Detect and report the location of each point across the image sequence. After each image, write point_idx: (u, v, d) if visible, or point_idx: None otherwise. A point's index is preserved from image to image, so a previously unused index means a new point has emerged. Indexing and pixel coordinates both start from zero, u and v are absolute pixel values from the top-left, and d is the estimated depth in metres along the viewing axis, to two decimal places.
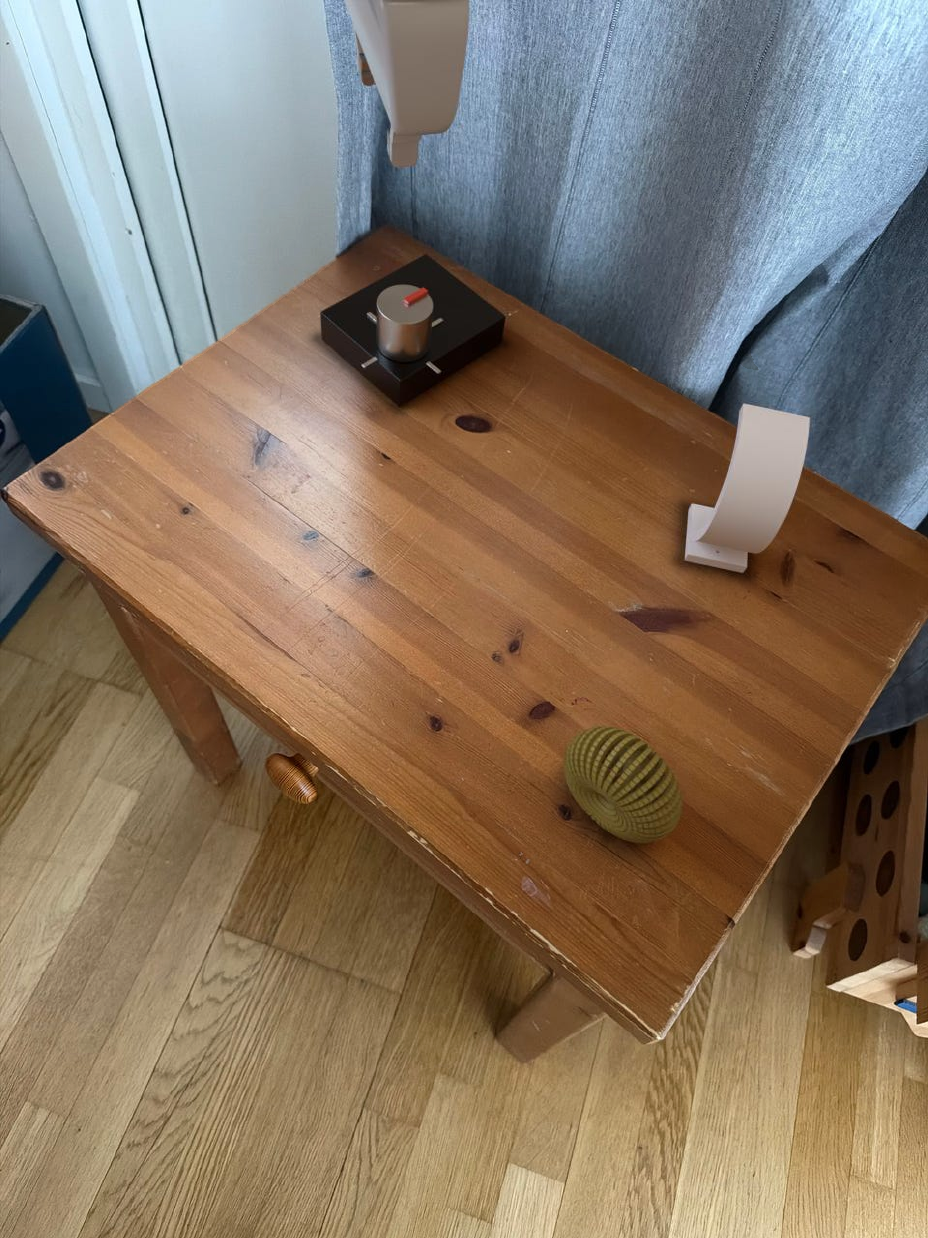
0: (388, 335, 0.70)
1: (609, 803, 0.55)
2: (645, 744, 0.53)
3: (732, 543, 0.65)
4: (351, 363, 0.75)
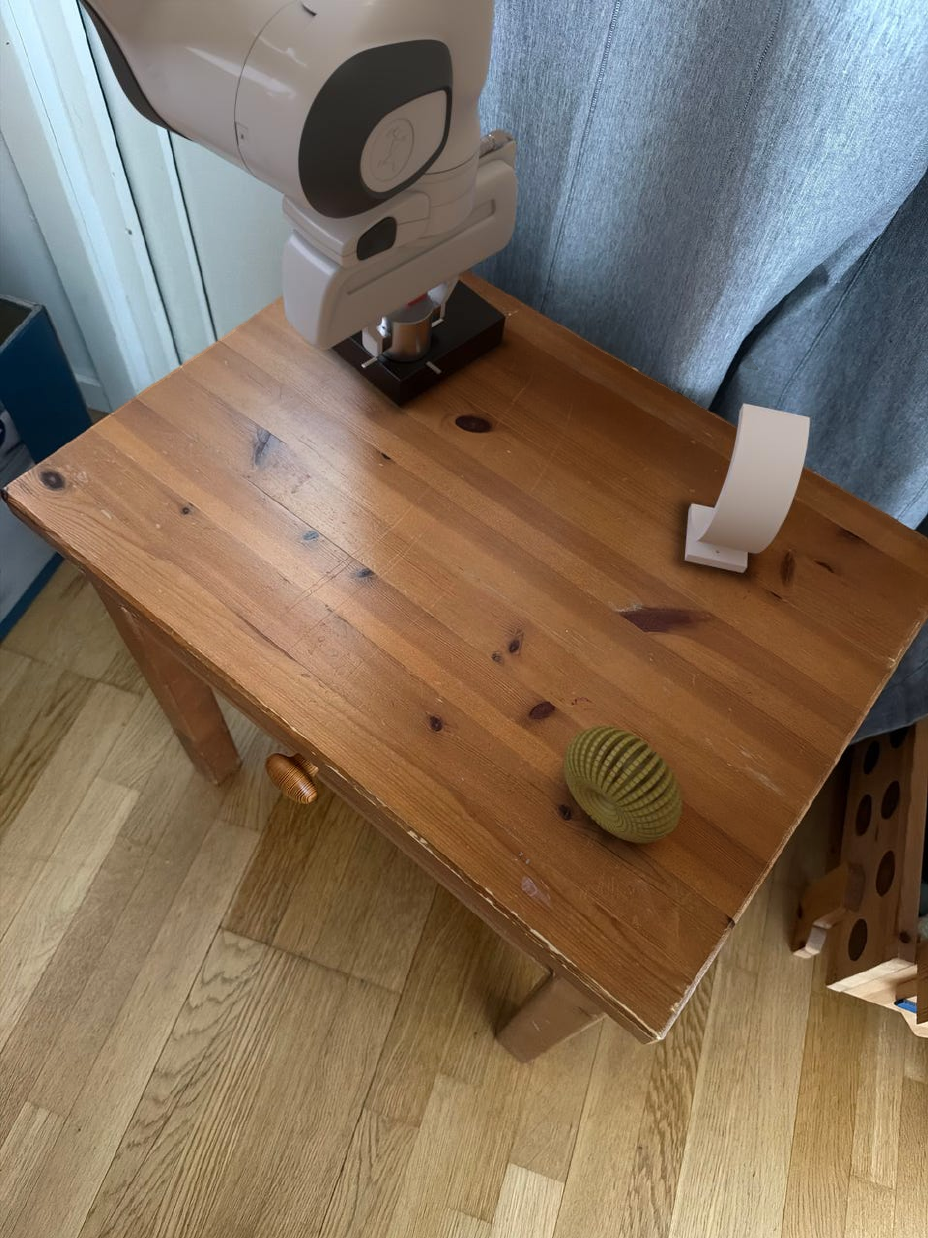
0: None
1: (609, 803, 0.55)
2: (645, 744, 0.53)
3: (732, 543, 0.65)
4: (351, 363, 0.75)
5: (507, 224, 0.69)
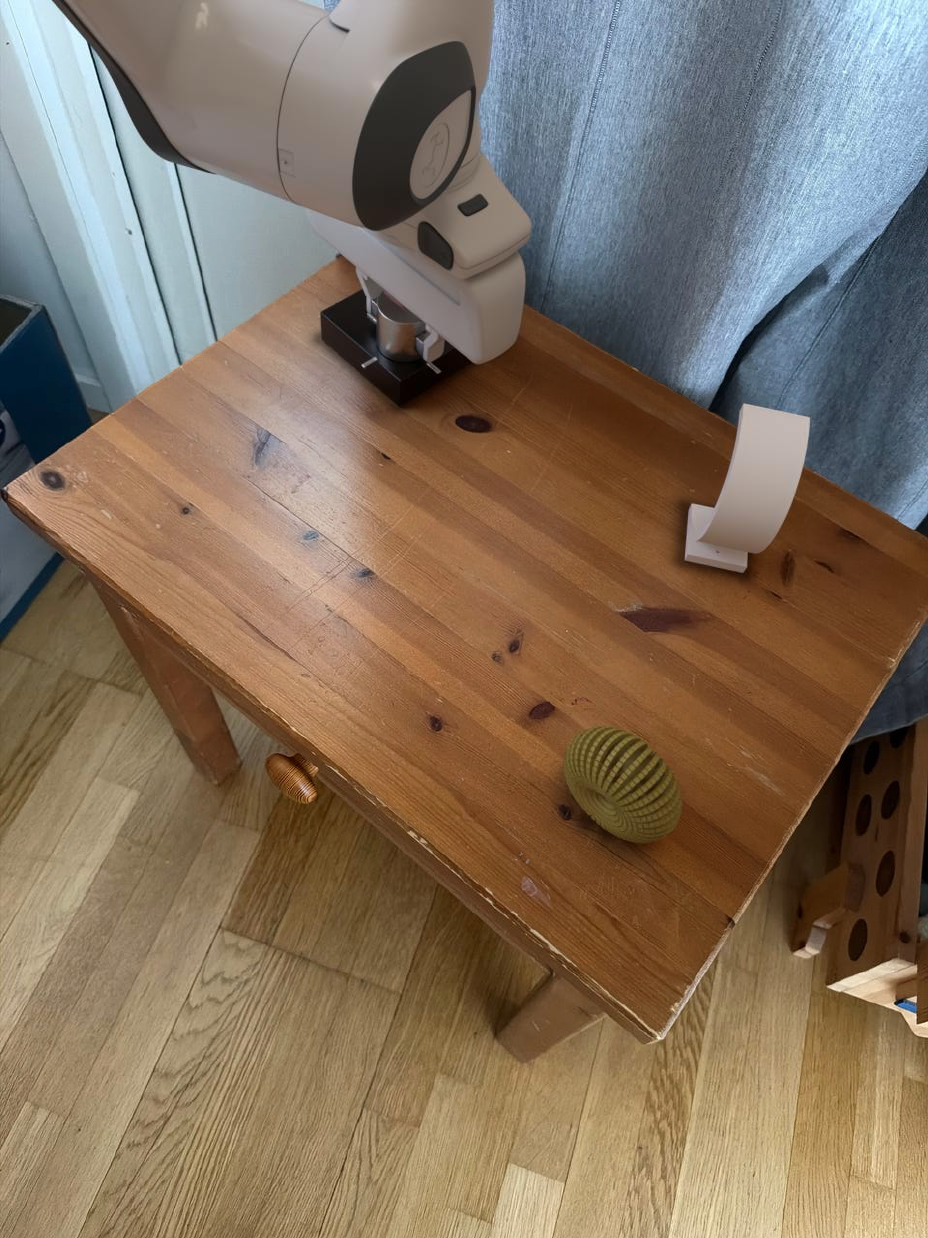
0: None
1: (609, 803, 0.55)
2: (645, 744, 0.53)
3: (732, 543, 0.65)
4: (351, 363, 0.75)
5: None
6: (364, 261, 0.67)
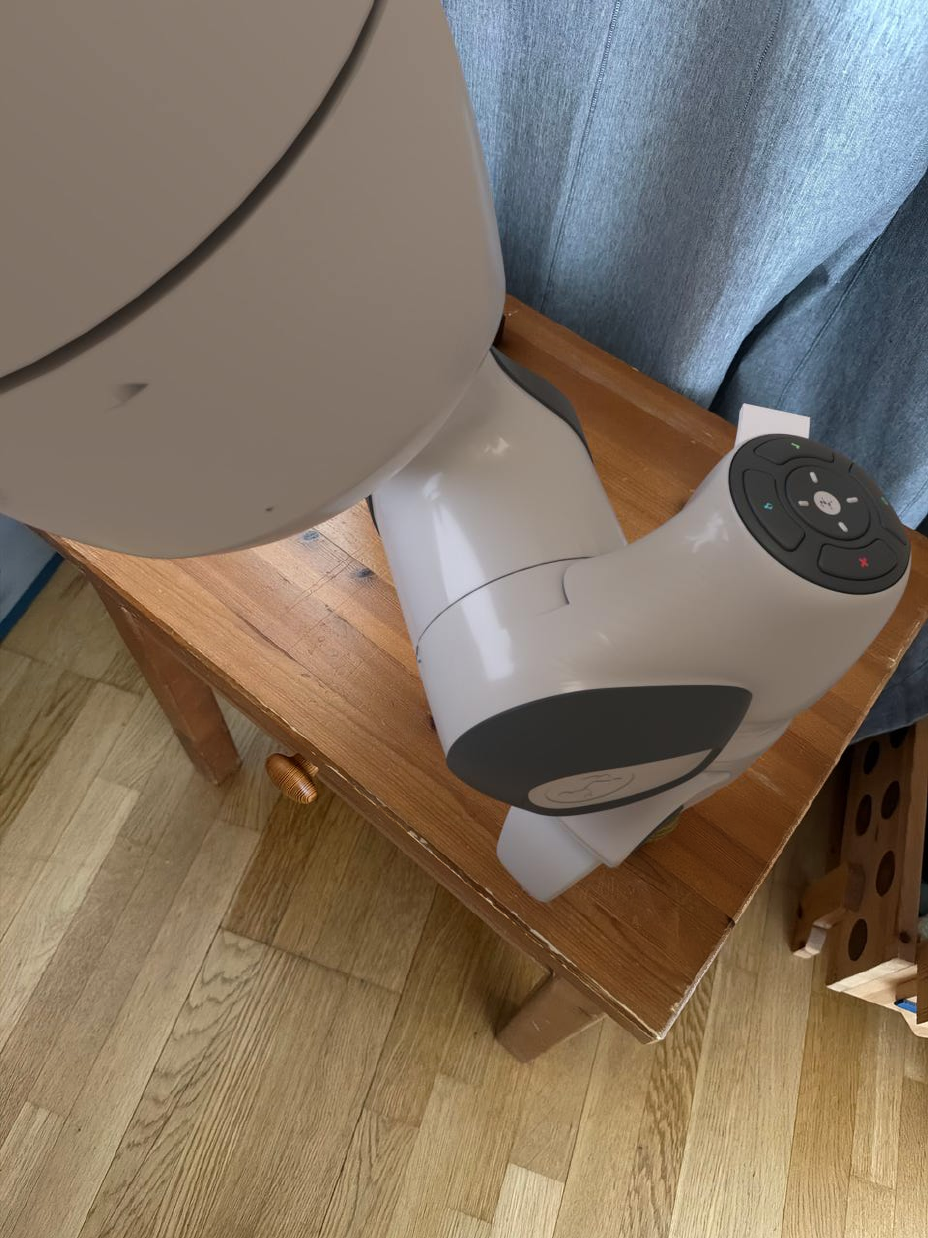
0: None
1: None
2: None
3: None
4: None
5: None
6: None
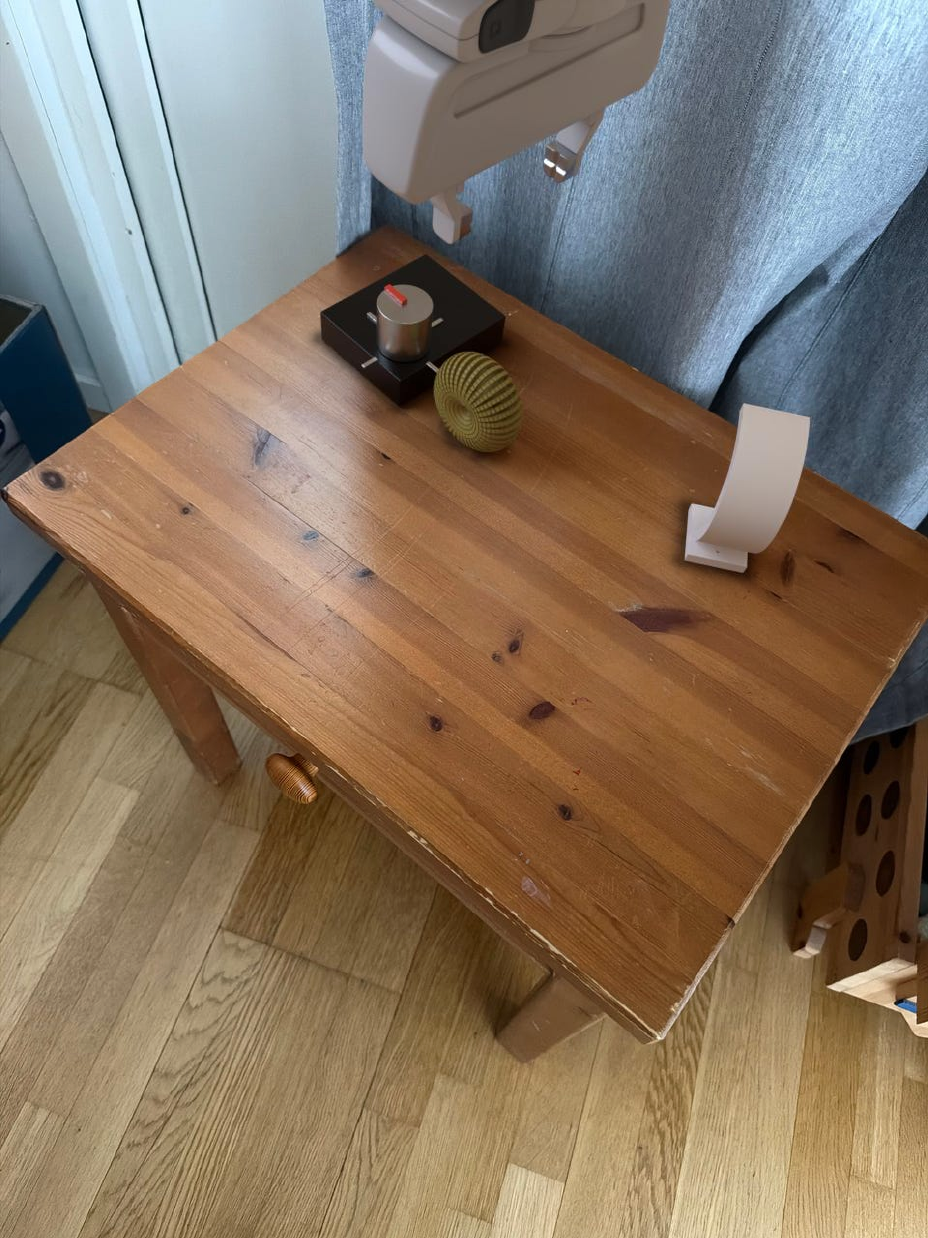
0: (427, 332, 0.70)
1: (468, 416, 0.69)
2: None
3: (732, 543, 0.65)
4: (351, 363, 0.75)
5: (653, 49, 0.51)
6: None
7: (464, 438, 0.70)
